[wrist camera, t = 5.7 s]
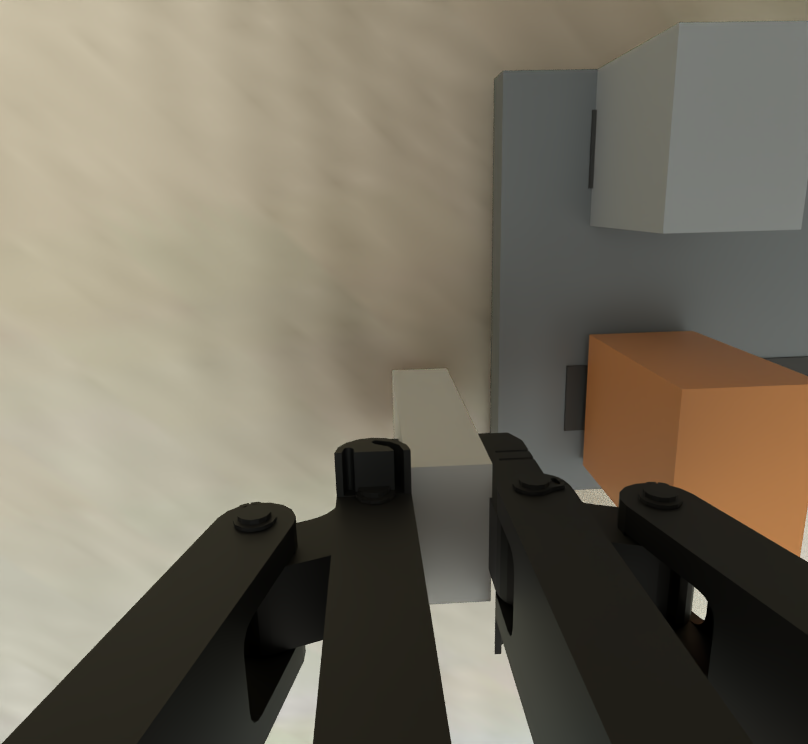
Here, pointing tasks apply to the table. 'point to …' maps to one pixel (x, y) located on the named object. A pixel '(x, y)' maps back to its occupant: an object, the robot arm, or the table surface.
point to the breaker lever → (700, 426)
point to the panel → (606, 270)
